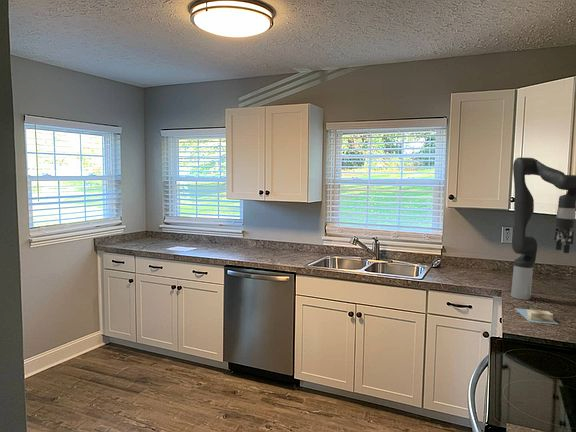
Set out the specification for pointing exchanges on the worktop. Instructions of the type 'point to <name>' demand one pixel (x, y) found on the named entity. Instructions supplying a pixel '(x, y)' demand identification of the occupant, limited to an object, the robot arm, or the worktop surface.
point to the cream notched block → (540, 315)
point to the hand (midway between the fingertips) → (562, 251)
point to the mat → (524, 314)
